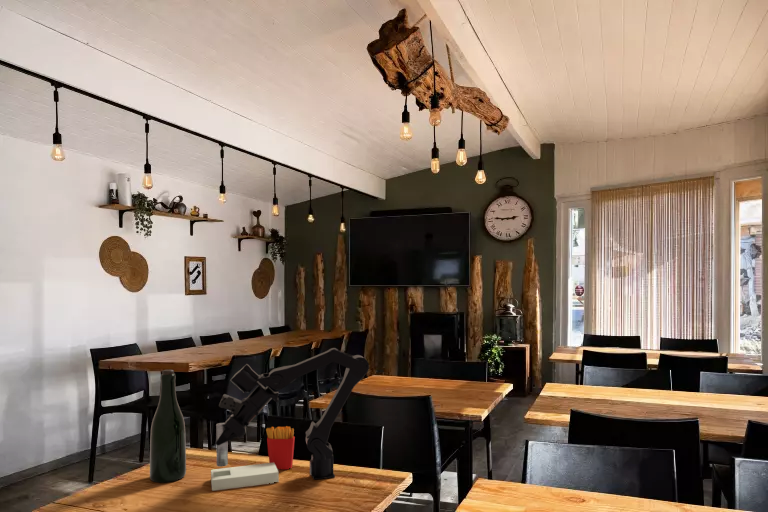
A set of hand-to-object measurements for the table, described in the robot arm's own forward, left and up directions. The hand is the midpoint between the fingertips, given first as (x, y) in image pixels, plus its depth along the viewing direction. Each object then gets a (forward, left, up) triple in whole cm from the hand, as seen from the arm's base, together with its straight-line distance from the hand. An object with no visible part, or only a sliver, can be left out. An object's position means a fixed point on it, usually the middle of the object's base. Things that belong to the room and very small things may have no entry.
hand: (217, 442), depth 170 cm
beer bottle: (+14, -12, -12) cm, 22 cm away
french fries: (-20, -9, -12) cm, 25 cm away
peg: (-1, 0, -7) cm, 7 cm away
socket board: (-8, 0, -12) cm, 14 cm away
